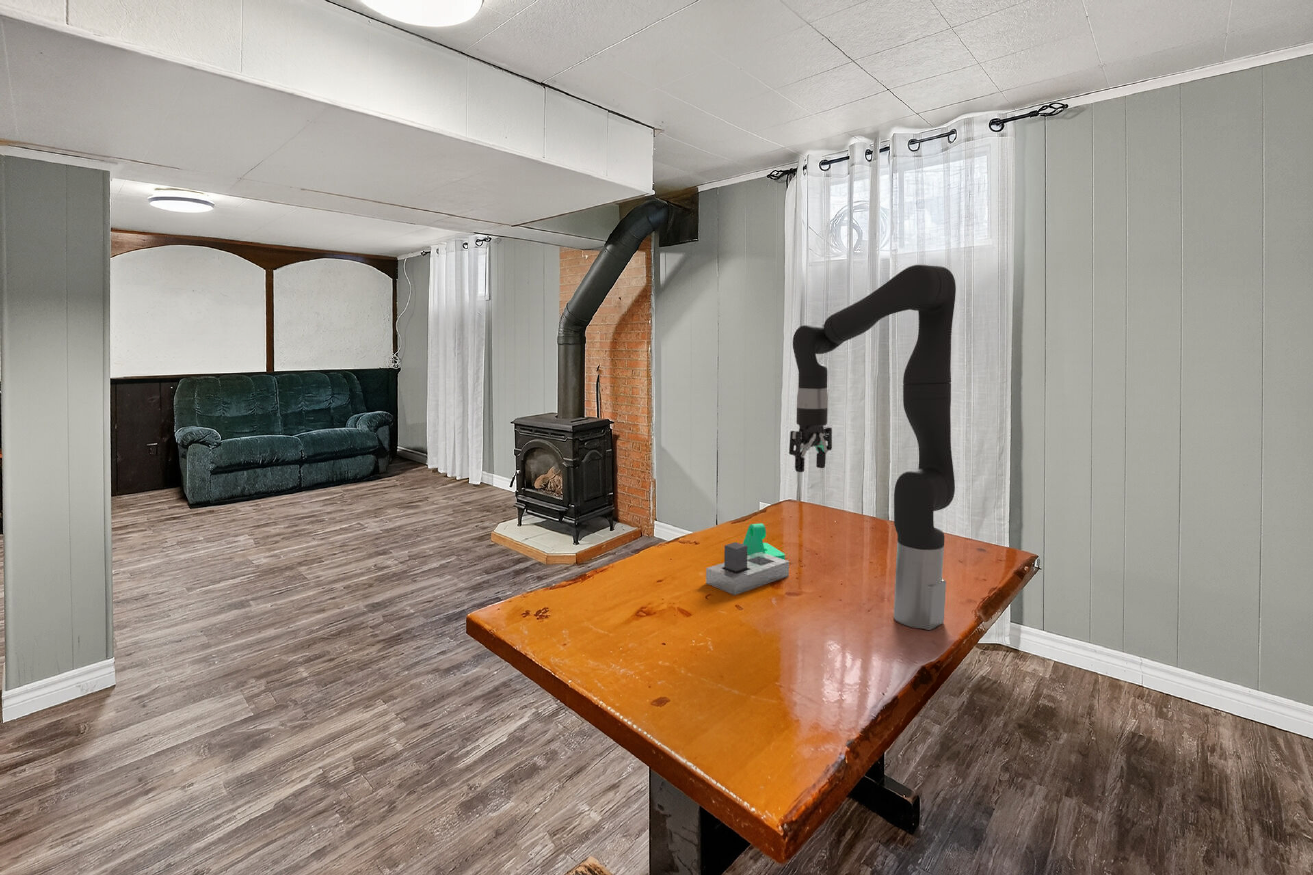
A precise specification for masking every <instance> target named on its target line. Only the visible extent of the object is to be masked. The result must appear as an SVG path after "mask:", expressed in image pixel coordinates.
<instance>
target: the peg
mask: <svg viewBox="0 0 1313 875" xmlns="http://www.w3.org/2000/svg"><path fill="white" fill-rule="evenodd" d="M723 549H724V556H723V557H724V561H723V563H724V570H727V571H730V572H732V573H735V574H738V573H741V572H744V571H747V556H748V554H747V546H746V545H743V543H739V542H736V541H735V542H732V543H728V544H724V548H723Z"/></svg>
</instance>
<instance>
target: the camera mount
mask: <svg viewBox="0 0 1313 875" xmlns="http://www.w3.org/2000/svg"><path fill="white" fill-rule="evenodd" d="M766 536H767V530H766V526H765V525H764V523H753V524H751V523H750V524H749V526H748V529H747V531H746V534H745V536H744V540H743V542H742V544H743V545H746V546H747V556H748V555H751V554H754V553H758V552H762V553H765V554H768V555H771V556H774V557H777V558H780V559H784V560H786V554H785V553H784V552H782V551H781V550H779V549H777V547H774V546H773V545H771V544H769V543H768V542H763V540H764V539H766Z"/></svg>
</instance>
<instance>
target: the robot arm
mask: <svg viewBox="0 0 1313 875" xmlns="http://www.w3.org/2000/svg"><path fill="white" fill-rule="evenodd" d="M956 291H957V286H956V279H955V277H954V275H953V273H952V272H951V270H949V269H948V268H947V267H944V266H941V265H933V264H932V265H931V264H924V263H916V264H913V265H909V266H908V267H906V268H904V269H903V270H901V271H899V273H897V274H896V275H895V276H893V277H892V278H891V279H889V280H888V281H886V282H885V283H883V285H881V286H880V287H878V288H877V289H875V290H874V291H872V292H871V293H870V294H868V295H866V296H865V297H864V298H861V299H860V300H858V301H857V302H854V303H853V304H851V305H849V306H846V307H845V308H842V309H841V310H839V311H837V312H835V313H833V314H831V315H830V316H828V318H826V319H825V321H824V324H822V325H819V324H818V325H814V324H813V325H810V324H809V325H807V324H805V325H801V326H799V327H798V328H796V330H795V332H794V333H793V337H792V348H793V353H794V354H793V355H794V358H795V363H796V366H797V369H798V370H797V371H798V383H797V384H798V386H797V387H798V389H797V396H796V424H797V425H798V426H799V429H798V430H791V431H790V433H789V448H788V449H789V450H788V454H789V455H792V456H794V469H795V472H797V473H804V471H805V459H806V457H805V456H806V453H807V452H808V451H810V448H815V450H816V452H817V453H816V460H815V461H816V468H819V469H825V467H826V463H827V462H826V459H827V457H826V456H827V453H828V451H832V450H833V440H832V439H833V435H832V434H833V429H832V427H829V426H826V425H827V424H828V411H829V410H828V408H829V407H828V405H829V394H828V367H827V366H826V365H825V364H821V363H819V362H818V359H817V356H816V355H823V354H828V353H830V352H832V351H834V350H835V349H837V348H838V347H840V345H842V344H843V343H844V342H847V341H849V340H851V339H854V338H856V337H858V336H860V335H862V334H864V333H866V332H868V331H869V330H871V329H872V328H873V327H874V326H875V325H876V324H877V323H878V322H880V321H881V320H882V319H884V318H885V317H888V316H890V315H893V314H897V313H901V312H905V311H909V310H911V311H917V312H918V313H917V314H918V334H917V340H916V343H915V345H914V348H913V350H912V352H911V355H910V357H909V359H908V362H907V364H906V366H905V368H904V372H903V377H902V378H903V379H902V403H903V410H904V413H905V417H906V418H907V420H908V423H909V425H910V426H911V429H912V431H913V433H914V435H915V438H916V441H917V446H918V469H913V470H909V471H905V472H903V473H902V474H901V475H899V477H898V478H897V479H896V482H895V485H894V490H893V491H894V494H893V524H894V525H893V526H894V529H895V531H896V535H897V539H896V540H897V541H896V559H895V560H896V561H895V578H894V579H895V584H894V600H893V602H894V604H893V619H894V620H895V621H896V622H897V623H900V624H901V625H904V626H907V627H909V628H915V629H922V630H923V629H924V630H928V631H931V630H933V629H935V628H937V627H939V626H940V625H942V624H944V622H945V621H944V620H945V606H946V603H945V602H946V592H947V591H946V589H947V581H946V580H945V579H943V571H944V570H943V567H944V550H945V534H944V532H943V531H942V530H941V529H939V528H937V527H935V524H934V512H936V511H940V510H941V511H942V510H944V509H947V507H949V506H950V505H951V503H952V502H953V500H954V497H955V490H956V485H955V484H956V482H955V481H956V480H955V472H954V464H953V463H954V462H953V456H952V433H951V432H952V430H951V429H952V426H951V425H952V424H951V420H952V419H951V408H952V407H951V406H952V368H951V366H952V365H951V364H952V362H951V360H952V334H953V332H952V330H953V322H954V321H953V319H954V312H955V305H956V304H955V303H956V295H957V294H956ZM826 442H827V443H826Z"/></svg>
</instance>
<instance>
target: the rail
mask: <svg viewBox="0 0 1313 875" xmlns="http://www.w3.org/2000/svg"><path fill="white" fill-rule="evenodd" d="M789 565H790V561H789V560H786V559H785V560H784V559H780V558H777V557H774V556H771V555H768V554H765V553H762V552H758V553H754V554H751V555H748V554H747V571H744V572H741V573H738V574H735V573H732V572H730V571H727V570H724V562H722V563H719V564H715V565H712V566H708V567H706V568H705V569H706V570H705V584H706V583H707V584H706V585H709V586H711V585H712V587H714V588H716V587H717V588H716V589H719V590H721V591H724V592H726V593H728V594H731V595H733V596H737V595H739V594H742V593H745V592H748V591H751V590H753V589H756V588H759V587H762V586H764V585H767V584H771V583H772V582H776V581H778V580H781V579H785V578H787V577H789V574H790V571H789V570H790V569H789V568H790V566H789Z"/></svg>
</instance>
